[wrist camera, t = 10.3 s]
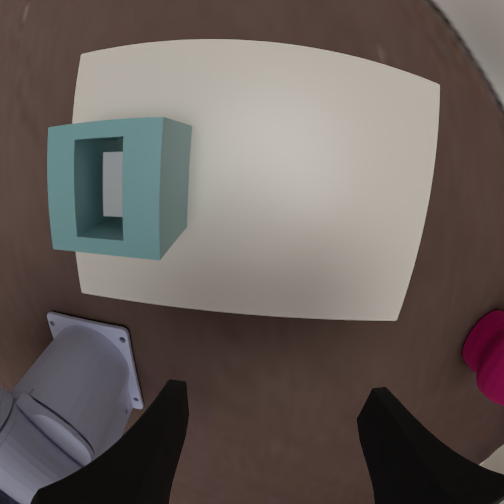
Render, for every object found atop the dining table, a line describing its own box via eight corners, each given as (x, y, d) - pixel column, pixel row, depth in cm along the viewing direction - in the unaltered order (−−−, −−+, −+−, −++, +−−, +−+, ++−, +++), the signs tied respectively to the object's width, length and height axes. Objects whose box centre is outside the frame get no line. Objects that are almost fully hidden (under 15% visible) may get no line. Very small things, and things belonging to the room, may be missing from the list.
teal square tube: (186, 227, 16) (159, 260, 11) (100, 221, 16) (53, 248, 11) (192, 125, 14) (163, 116, 9) (100, 128, 14) (48, 127, 9)
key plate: (390, 311, 19) (416, 349, 15) (89, 285, 19) (56, 317, 15) (430, 87, 14) (472, 77, 9) (90, 58, 13) (50, 41, 9)
